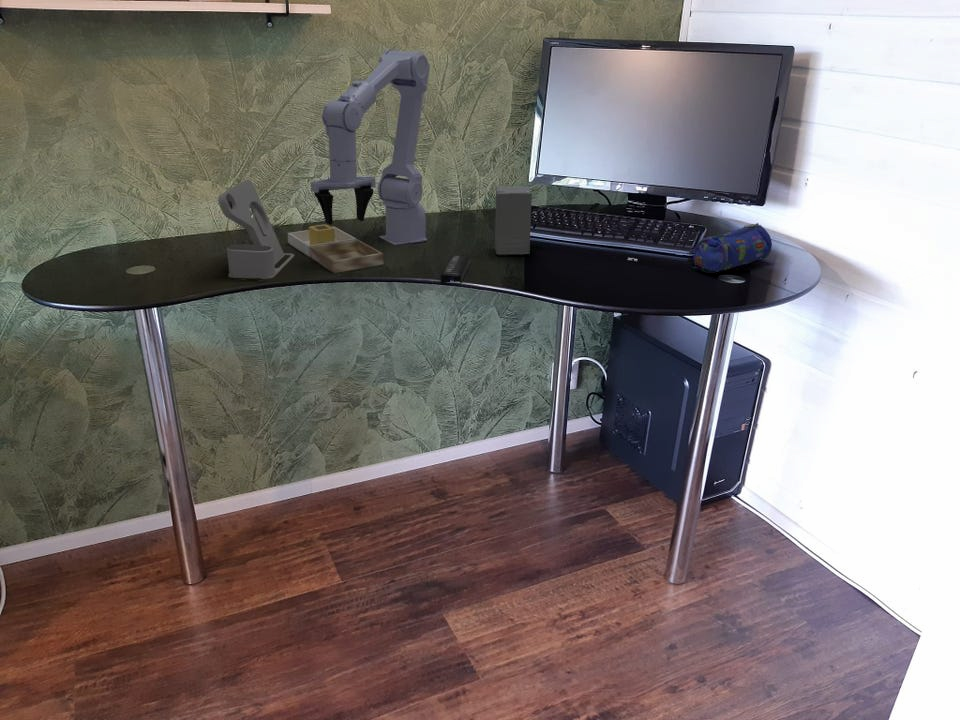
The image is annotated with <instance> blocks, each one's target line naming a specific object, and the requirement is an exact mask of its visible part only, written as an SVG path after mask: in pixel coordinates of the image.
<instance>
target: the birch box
mask: <svg viewBox="0 0 960 720" xmlns="http://www.w3.org/2000/svg"><path fill="white" fill-rule="evenodd" d="M310 253H311V257H310V258H311V259H312V261H315V262H316V263H318V264H320V265H321V266H322V267H324V268H325V269H327V270H329V271H330V272H332V273H333V274H334V276H336V275H337V276H338V275H339V273H340V274H341V275H342V274H344V272H345V274H346V273H347V274H348V273H350V271H351V273H353V272H355V271H356V272H358V271H361V269H362V271H365V270H367V268H368V270H370V269H372V268H373V269H376V268H378V266H379V268H381V267H383V266H384V261H385V260H384V259H385V258H384V253H383V252H382V251H380V250H378V249H376V248H374V247H372V246H371V245H369V244H367V243H365V242H363V241H361V240H360V239H357V240H353V241H347V242H340V243H334V244H327V245H321V246H315V247H310ZM341 272H342V273H341Z"/></svg>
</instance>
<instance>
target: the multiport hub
mask: <svg viewBox="0 0 960 720" xmlns="http://www.w3.org/2000/svg"><path fill="white" fill-rule="evenodd" d="M470 266H471V255H469V254H468V255H466V254H456V253H454V254H451V255H450V257H449V259H448V261H446V264H445V265H444V267H443V269H442V271H441V273H440V283H442V284H447V283H446V282H450V280H454V282H455V281H461V280H462V278H463V276H464V274H465V272H466V270H467V269H468V270H469V268H468V267H470ZM468 270H467V271H468ZM466 273H467V272H466ZM465 275H466V274H465ZM464 277H465V276H464ZM463 279H464V278H463ZM462 281H463V280H462Z"/></svg>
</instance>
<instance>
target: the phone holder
mask: <svg viewBox="0 0 960 720" xmlns="http://www.w3.org/2000/svg"><path fill="white" fill-rule="evenodd" d="M217 201H218V205H219V207H220V210H221V212H222V214H223V215H224V217H226V218H227V219H229V220H231V221H232V222H234V223H235V224H237V225H239V226H241V227H242V228H244V229H245V230H246V232H247V233H248V235H249V237H250V239H251V242H252V244H245V243H244V244H243V243H241V244H239V243H237V244H231V245H228V246H227V247H226V254H227V262H228V263H227V265H228V271H229V273H227V274H228V278H229V277H233V278H261V279H273V278H274V277H275V276H276V275H278V274H279V272H281V270H282V269H283V268H284V267H286V266H287V264H288V263H289V262H290V261H292V259H293V258H294V257H295V254H294V253H287V252H286V253H285V252H284V250H283V248H282V246H281V244H280V242H279V239H278V237H277V234H276V233H275V231H274V228H273V225H272V223H271V221H270V219H269V216H268V214H267V212H266V210H265V207H264V205H263V202H262V201H261V199H260V196H259V194H258V192H257V190H256V187H255V185H254V183H253V182H252V181H251V180H250V179H246V180H243V181H240V182H239V183H237V184H235V185H233V186H232V187H230V188H229V189H227V190H225V191H224V192H222V193H220V194H219V195H218V197H217ZM250 210H251V211H250ZM251 212H252V216H251ZM285 256H289V257H288V258H287V259H286V260H285V261H284V262H283V263H282V264H280V266H279V267H277V268H276V267H275V266H276V265H277V264H278V263H279V262H280V261H281V259H283V258H284V257H285Z"/></svg>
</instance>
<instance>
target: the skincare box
mask: <svg viewBox="0 0 960 720" xmlns="http://www.w3.org/2000/svg"><path fill="white" fill-rule="evenodd" d="M532 196H533V193H532V190H531V187H530V185H517V186H516V185H515V186H514V185H512V186H511V185H510V186H509V185H508V186H507V185H502V186H501V185H496V186H495V228H494V229H495V231H494V233H495V234H494V237H495V238H494V249H495V254H530V252H531V251H530V250H531V245H530V244H531V228H532V227H531V225H532V224H531V221H532V220H531V219H532ZM530 255H531V254H530Z"/></svg>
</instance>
